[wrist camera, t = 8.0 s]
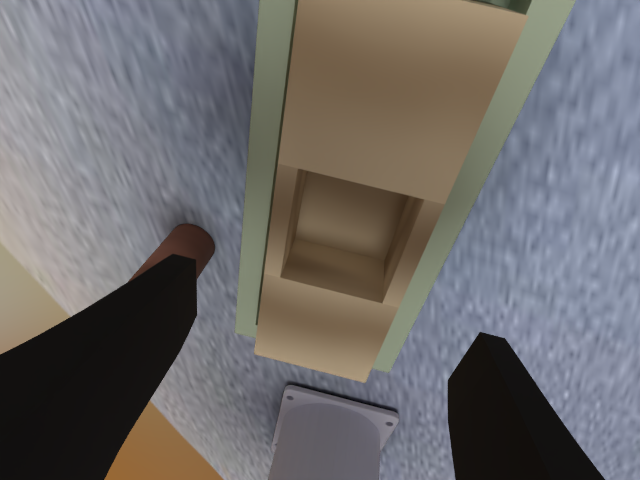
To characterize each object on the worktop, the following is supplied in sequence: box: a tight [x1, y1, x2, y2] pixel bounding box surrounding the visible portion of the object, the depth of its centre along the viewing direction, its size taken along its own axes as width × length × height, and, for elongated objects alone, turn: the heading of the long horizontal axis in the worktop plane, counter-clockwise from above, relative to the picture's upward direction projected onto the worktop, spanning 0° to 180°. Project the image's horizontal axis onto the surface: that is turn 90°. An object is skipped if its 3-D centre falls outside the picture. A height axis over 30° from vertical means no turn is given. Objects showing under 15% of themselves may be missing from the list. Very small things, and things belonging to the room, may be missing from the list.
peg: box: [127, 224, 215, 283], centre depth 17 cm, size 2×2×7 cm
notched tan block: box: [254, 0, 529, 383], centre depth 14 cm, size 14×5×4 cm, turn 170°
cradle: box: [235, 0, 576, 373], centre depth 15 cm, size 18×8×3 cm, turn 169°
